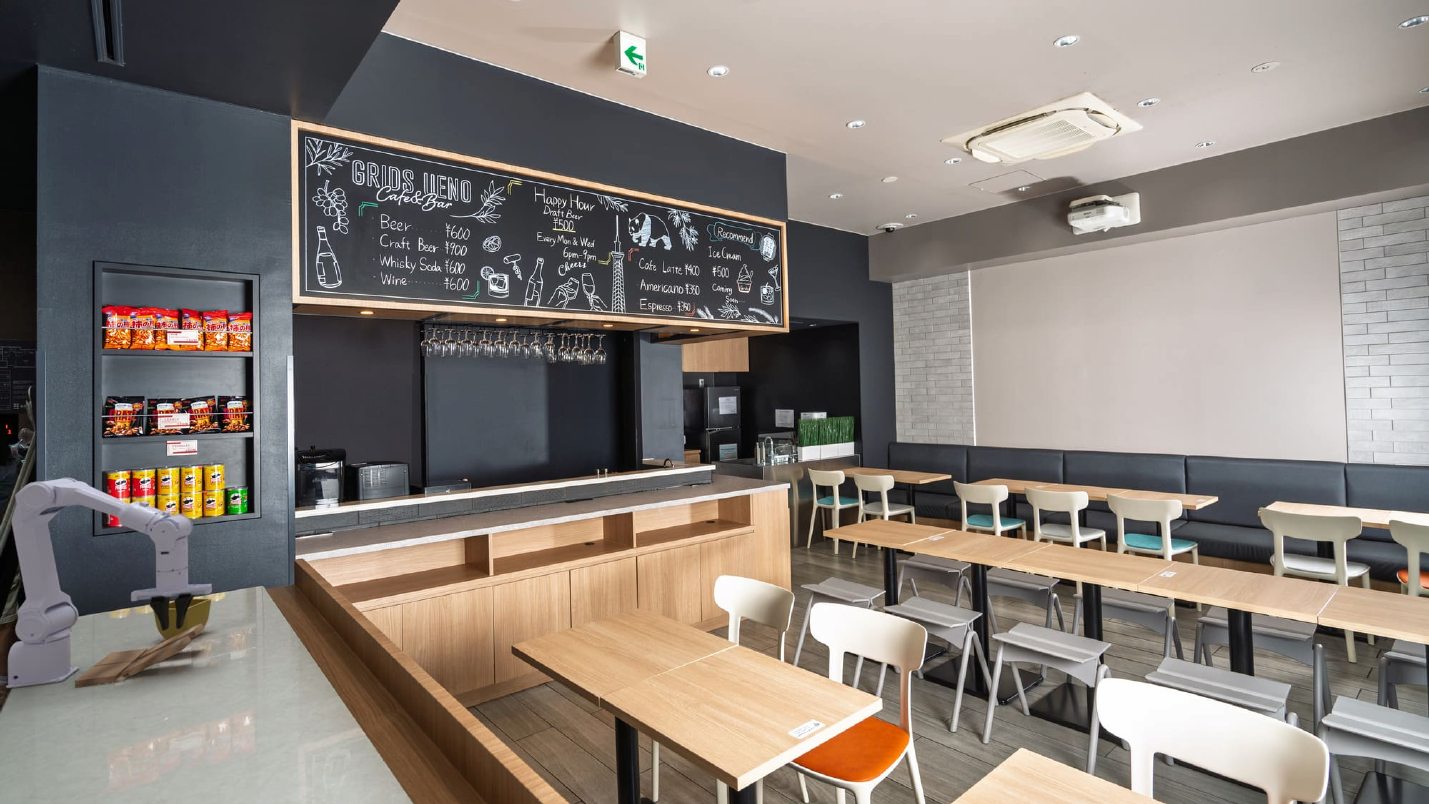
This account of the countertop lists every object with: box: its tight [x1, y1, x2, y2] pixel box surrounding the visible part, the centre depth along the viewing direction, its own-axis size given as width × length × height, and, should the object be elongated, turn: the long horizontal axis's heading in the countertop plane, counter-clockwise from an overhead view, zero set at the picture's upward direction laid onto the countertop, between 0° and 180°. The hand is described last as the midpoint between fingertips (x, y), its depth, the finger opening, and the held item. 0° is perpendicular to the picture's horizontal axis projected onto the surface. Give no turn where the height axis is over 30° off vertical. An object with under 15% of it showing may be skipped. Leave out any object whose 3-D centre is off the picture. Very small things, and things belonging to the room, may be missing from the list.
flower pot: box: [153, 598, 212, 641], centre depth 177 cm, size 9×9×9 cm
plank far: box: [139, 623, 205, 660], centre depth 164 cm, size 12×6×2 cm, turn 112°
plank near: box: [121, 636, 192, 677], centre depth 155 cm, size 12×6×2 cm, turn 112°
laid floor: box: [74, 647, 149, 689], centre depth 156 cm, size 8×18×2 cm, turn 23°
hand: (172, 628), depth 156 cm, fingers open, 2 cm apart
